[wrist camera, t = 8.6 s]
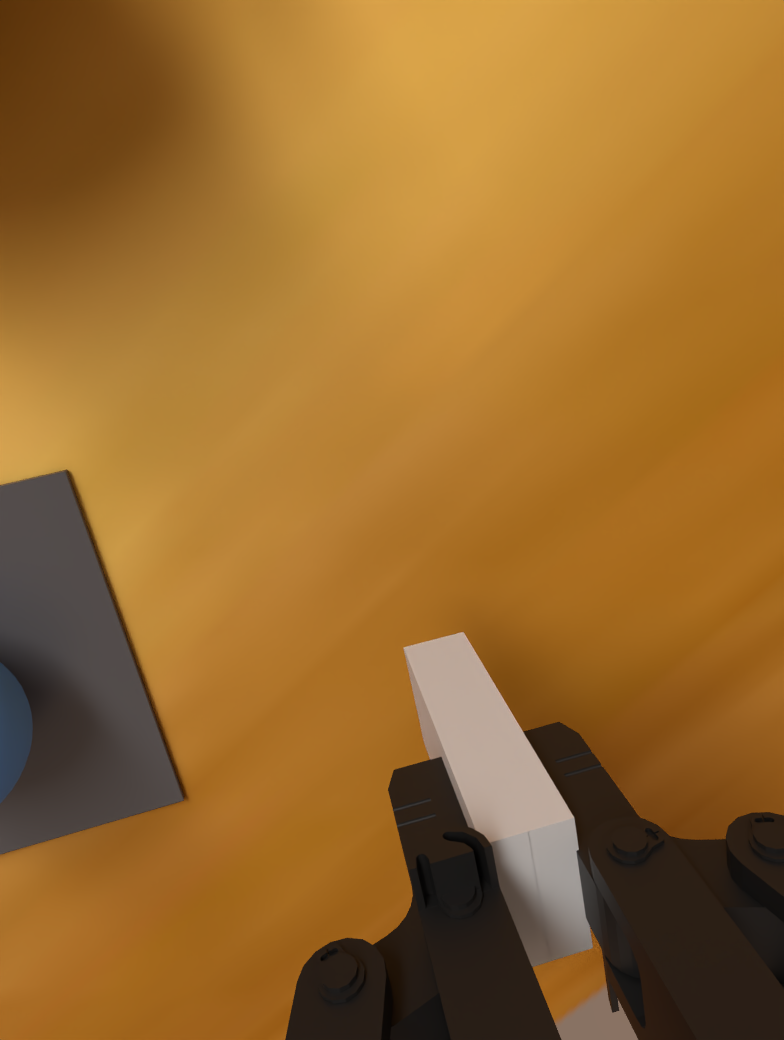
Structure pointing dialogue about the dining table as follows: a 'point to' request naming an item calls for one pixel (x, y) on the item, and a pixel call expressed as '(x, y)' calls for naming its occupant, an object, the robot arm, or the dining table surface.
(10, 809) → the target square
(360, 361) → the dining table surface
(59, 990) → the dining table surface
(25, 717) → the ball
